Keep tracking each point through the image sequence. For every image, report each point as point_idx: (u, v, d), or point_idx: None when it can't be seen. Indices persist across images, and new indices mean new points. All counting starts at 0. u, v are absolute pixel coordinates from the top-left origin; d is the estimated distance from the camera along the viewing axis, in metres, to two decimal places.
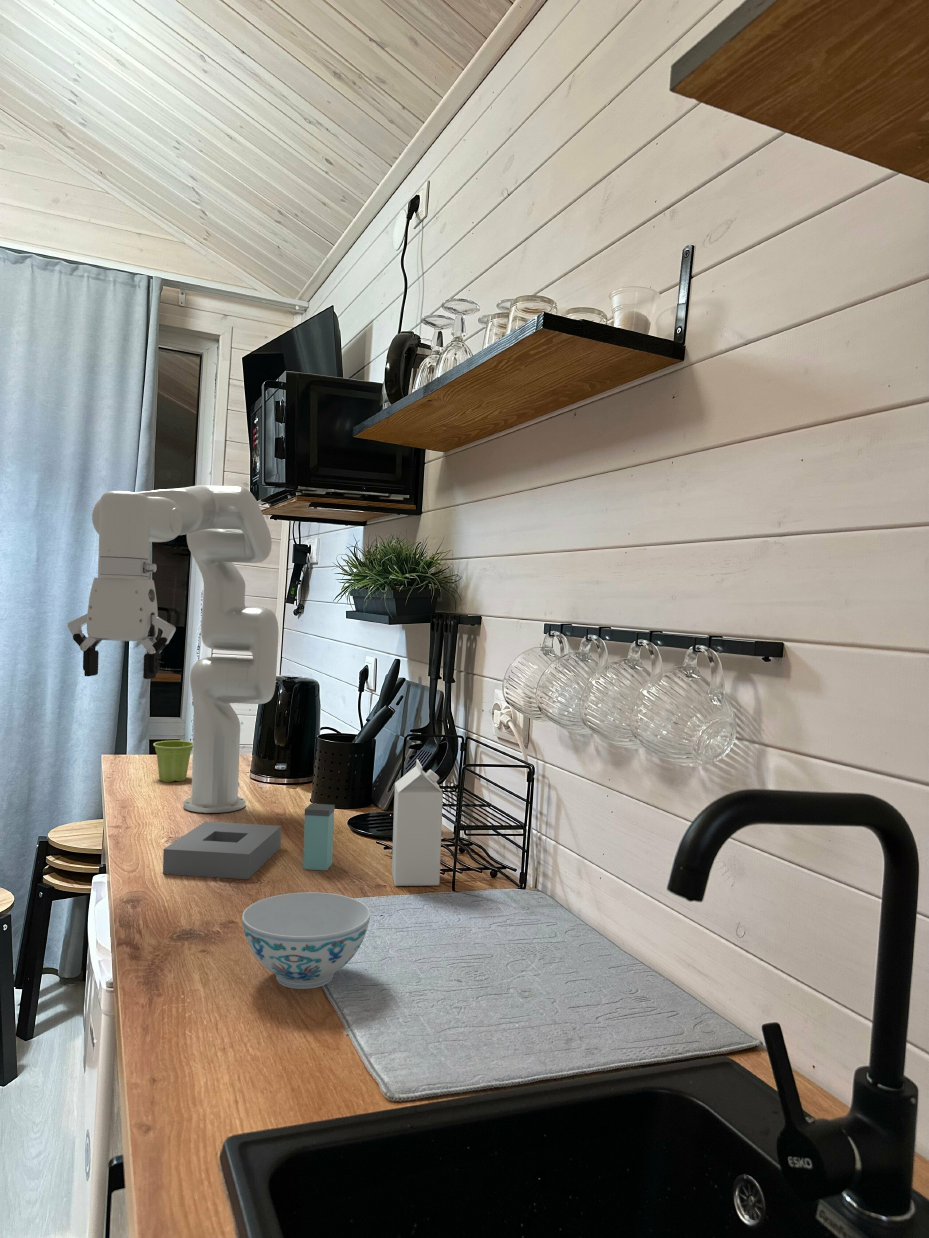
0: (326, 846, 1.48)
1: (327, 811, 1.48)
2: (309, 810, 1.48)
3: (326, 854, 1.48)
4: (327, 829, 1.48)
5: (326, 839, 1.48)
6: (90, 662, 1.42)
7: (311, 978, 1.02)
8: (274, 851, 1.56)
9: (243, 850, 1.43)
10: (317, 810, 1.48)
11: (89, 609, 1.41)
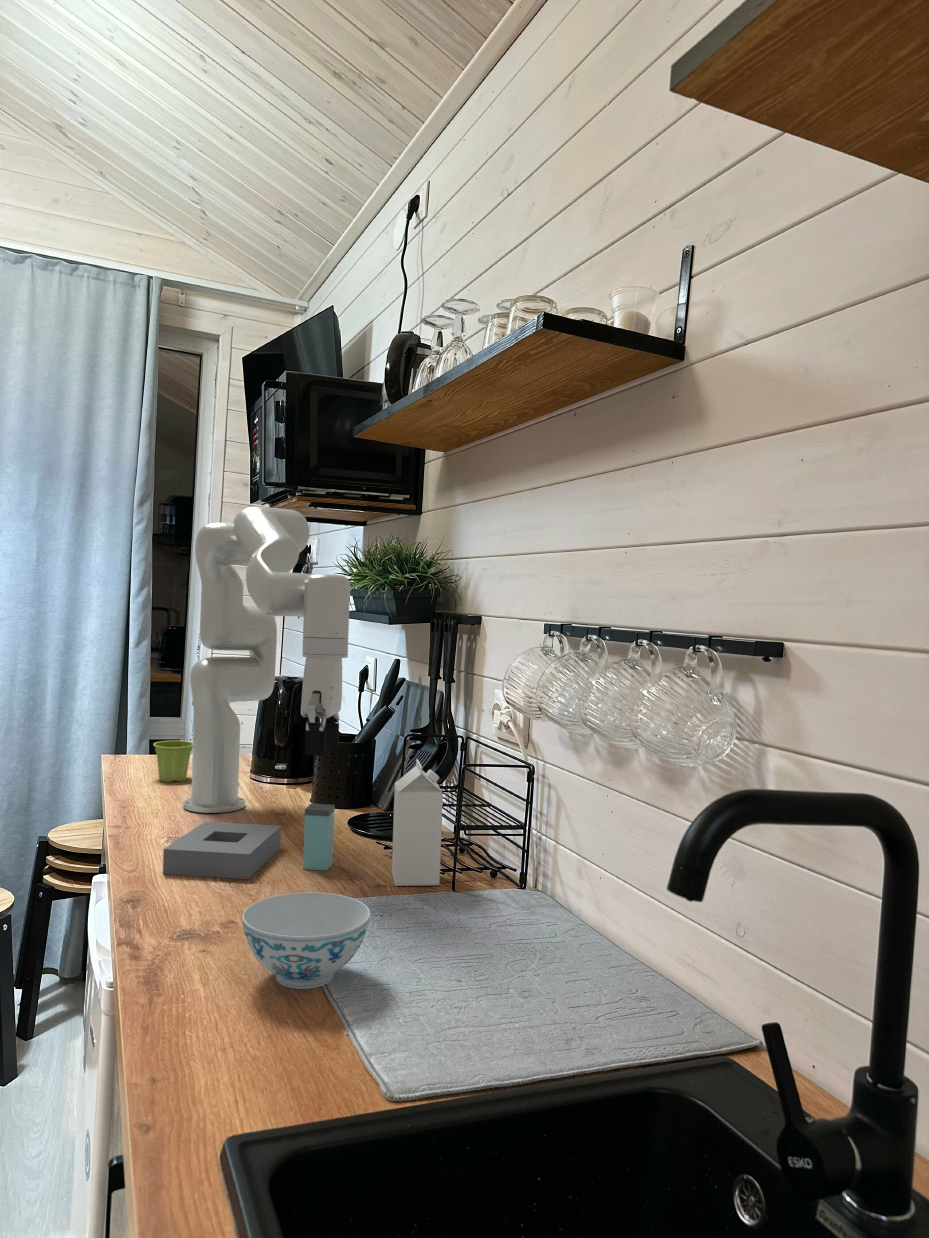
0: (326, 846, 1.48)
1: (327, 811, 1.48)
2: (309, 810, 1.48)
3: (326, 854, 1.48)
4: (327, 829, 1.48)
5: (326, 839, 1.48)
6: None
7: (311, 978, 1.02)
8: (274, 851, 1.56)
9: (243, 850, 1.43)
10: (317, 810, 1.48)
11: (330, 689, 1.45)
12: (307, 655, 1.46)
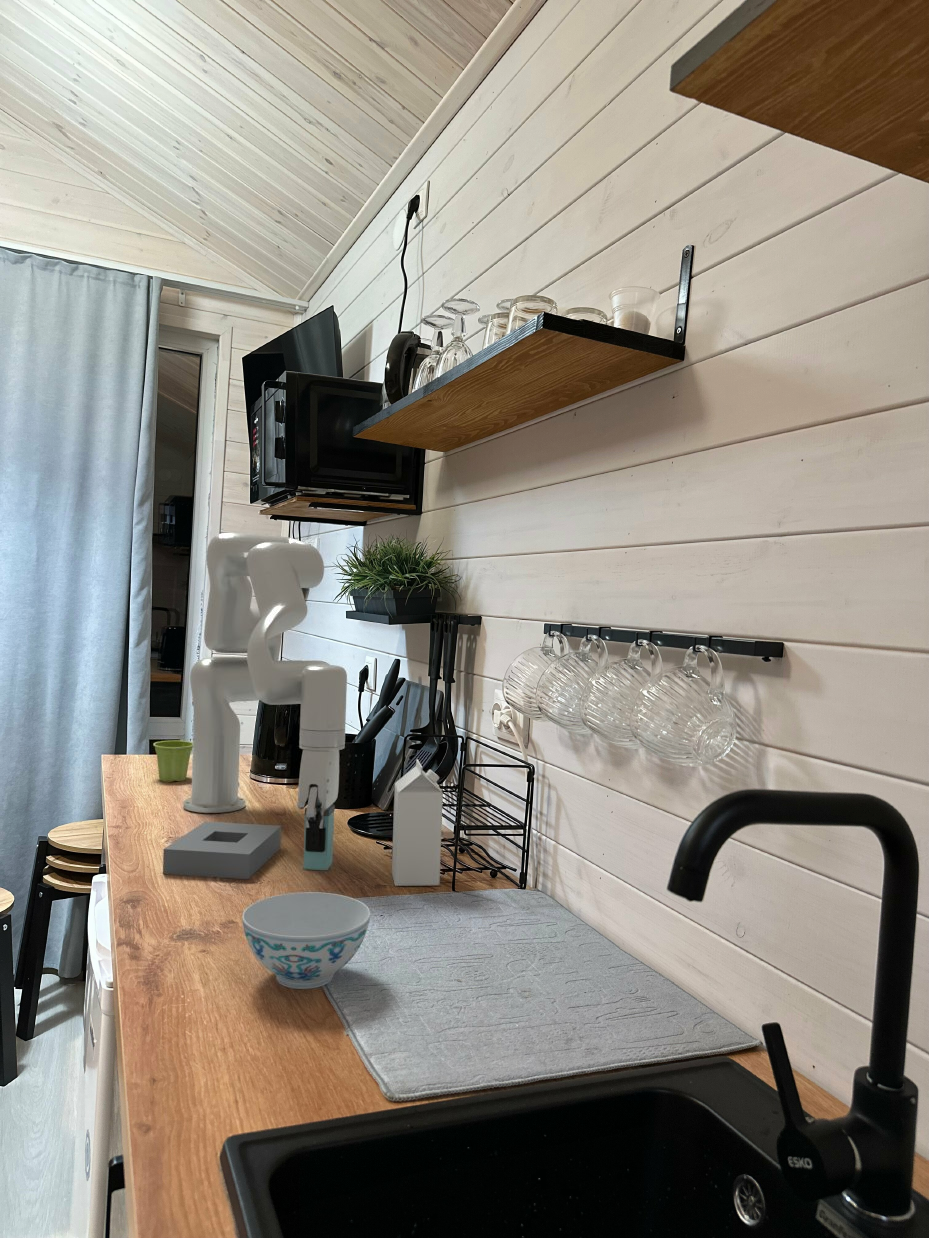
0: (326, 846, 1.48)
1: (327, 811, 1.48)
2: None
3: (326, 854, 1.48)
4: (327, 829, 1.48)
5: (326, 839, 1.48)
6: None
7: (311, 978, 1.02)
8: (274, 851, 1.56)
9: (243, 850, 1.43)
10: None
11: (327, 783, 1.45)
12: (304, 747, 1.47)
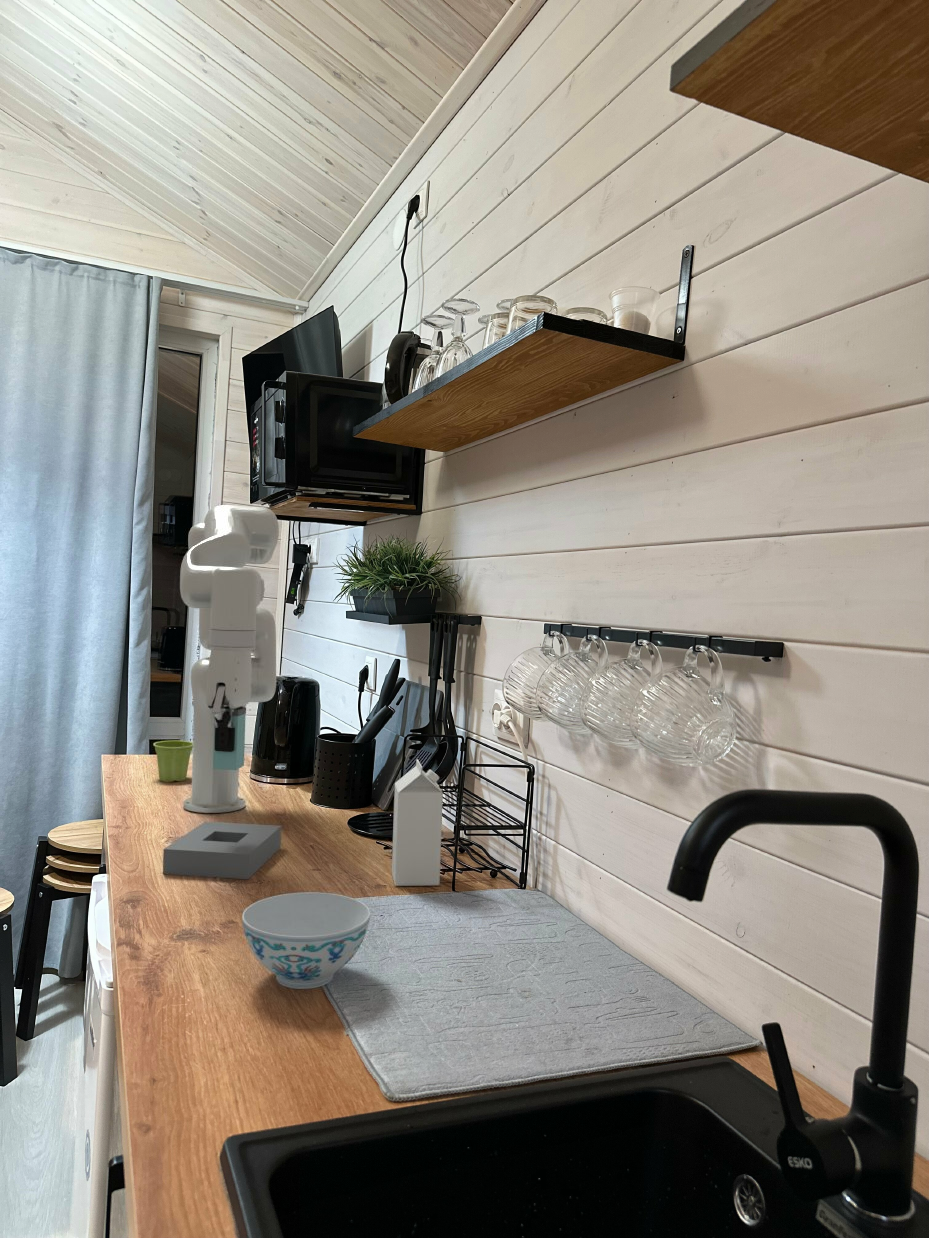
0: (235, 746, 1.49)
1: (236, 711, 1.48)
2: None
3: (235, 754, 1.49)
4: (236, 729, 1.49)
5: (235, 739, 1.49)
6: None
7: (311, 978, 1.02)
8: (274, 851, 1.56)
9: (243, 850, 1.43)
10: None
11: (234, 681, 1.46)
12: (213, 647, 1.48)
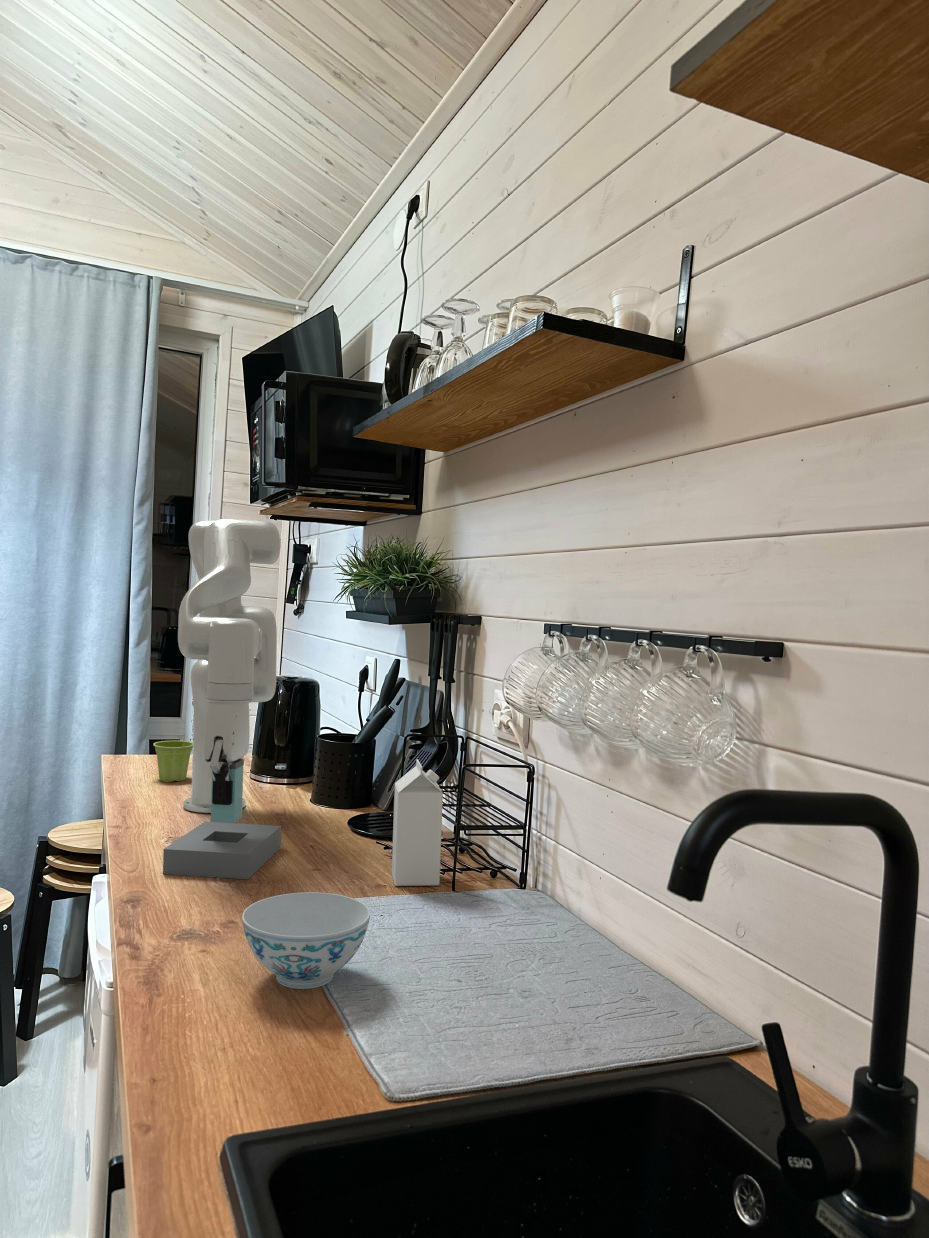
0: (233, 799, 1.49)
1: (234, 764, 1.48)
2: None
3: (233, 807, 1.49)
4: (234, 782, 1.49)
5: (233, 792, 1.49)
6: None
7: (311, 978, 1.02)
8: (274, 851, 1.56)
9: (243, 850, 1.43)
10: None
11: (232, 735, 1.46)
12: (210, 700, 1.48)
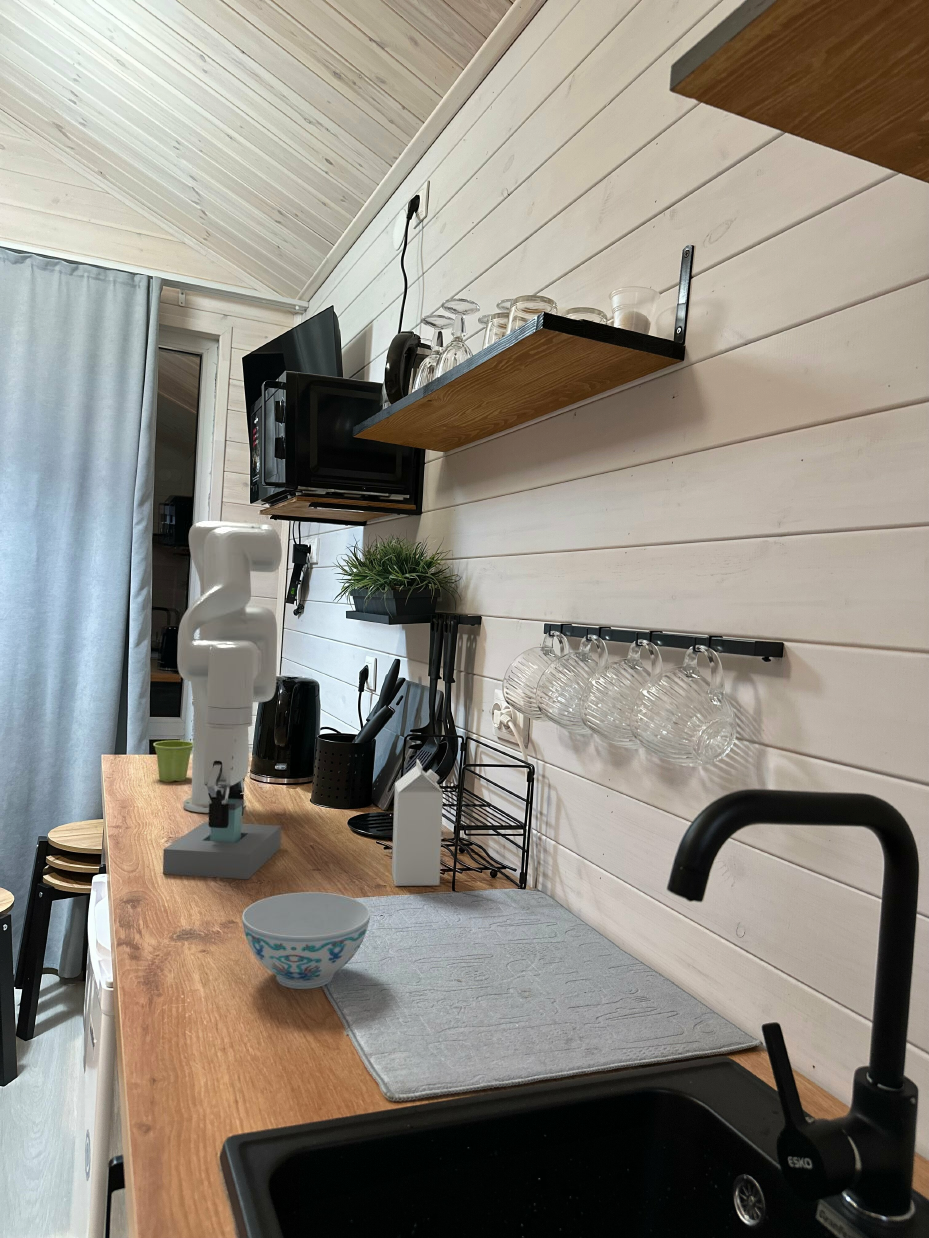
0: (232, 839, 1.49)
1: (233, 804, 1.49)
2: None
3: None
4: (233, 822, 1.49)
5: (232, 832, 1.49)
6: None
7: (311, 978, 1.02)
8: (274, 851, 1.56)
9: (243, 850, 1.43)
10: None
11: (231, 759, 1.46)
12: (210, 724, 1.48)
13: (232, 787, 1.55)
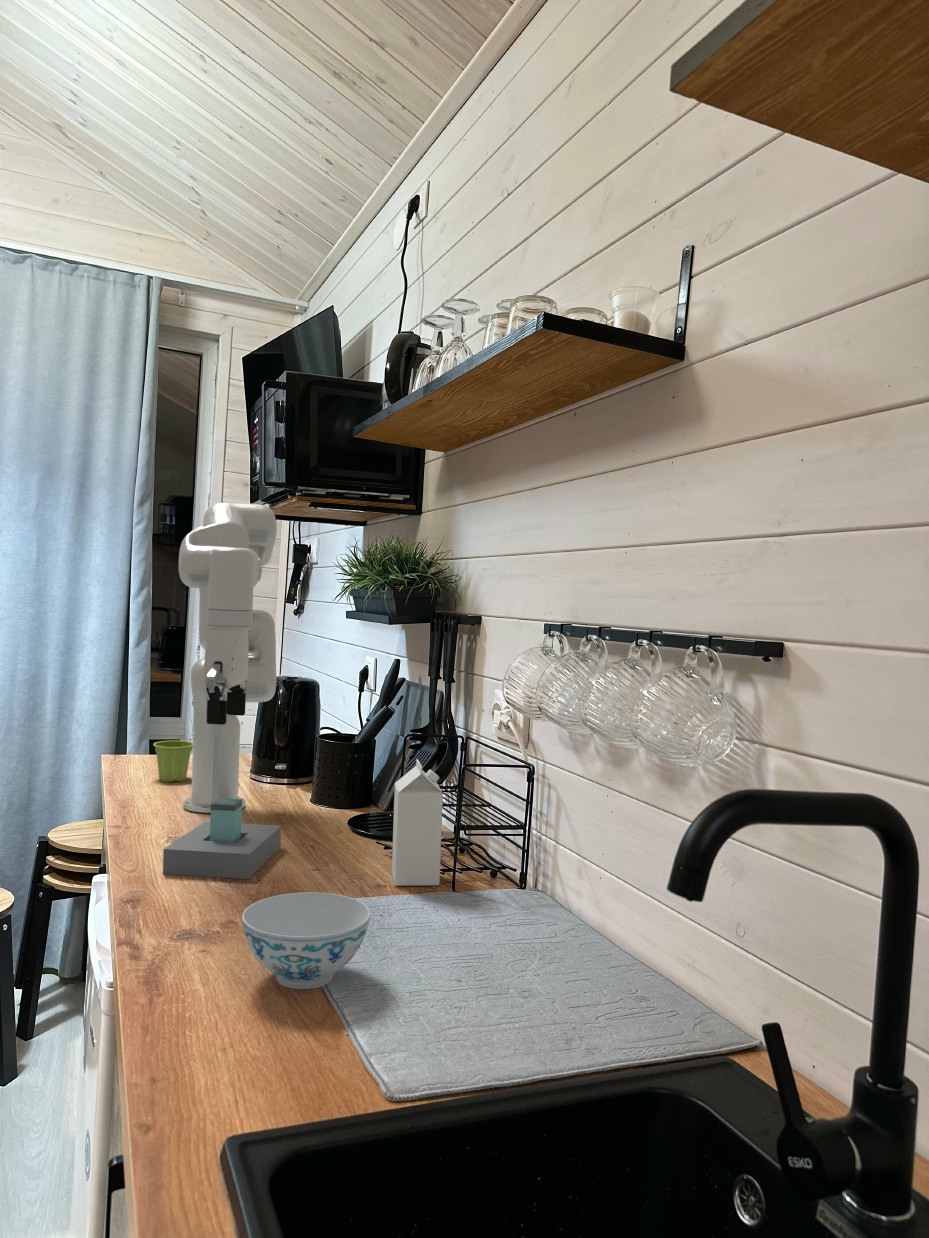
0: (232, 840, 1.49)
1: (233, 806, 1.49)
2: (215, 805, 1.49)
3: None
4: (233, 823, 1.49)
5: (232, 833, 1.49)
6: None
7: (311, 978, 1.02)
8: (274, 851, 1.56)
9: (243, 850, 1.43)
10: (223, 805, 1.49)
11: (231, 660, 1.48)
12: (210, 626, 1.50)
13: (234, 687, 1.58)
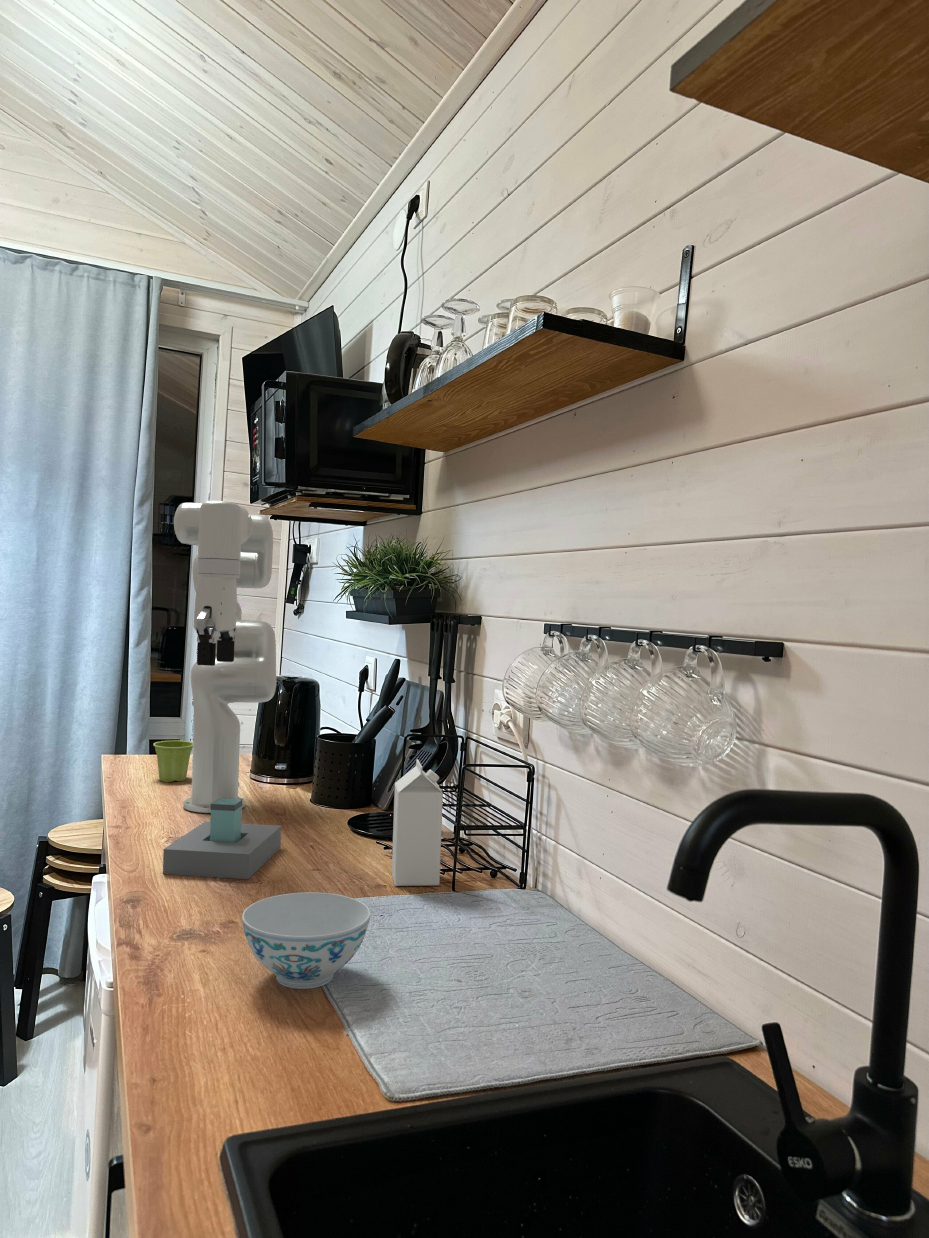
0: (232, 840, 1.49)
1: (233, 806, 1.49)
2: (215, 805, 1.49)
3: None
4: (233, 823, 1.49)
5: (232, 833, 1.49)
6: None
7: (311, 978, 1.02)
8: (274, 851, 1.56)
9: (243, 850, 1.43)
10: (223, 805, 1.49)
11: (220, 605, 1.58)
12: (200, 574, 1.60)
13: (223, 635, 1.68)
